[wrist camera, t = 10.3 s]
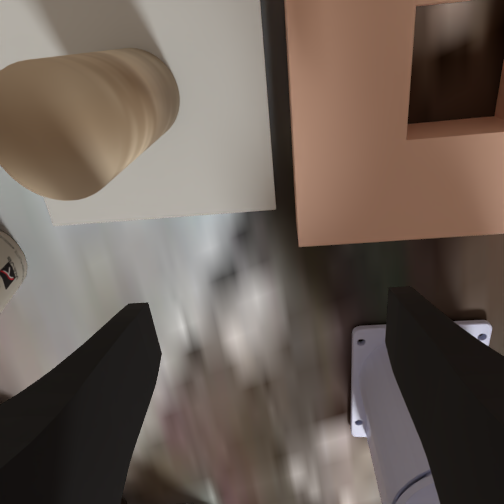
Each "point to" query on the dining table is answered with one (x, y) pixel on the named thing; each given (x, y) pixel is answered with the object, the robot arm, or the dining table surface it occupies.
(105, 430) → the robot arm
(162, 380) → the dining table surface
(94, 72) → the plug
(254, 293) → the dining table surface
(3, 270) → the coffee cup
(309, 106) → the square board with hole
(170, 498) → the dining table surface
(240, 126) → the mat
